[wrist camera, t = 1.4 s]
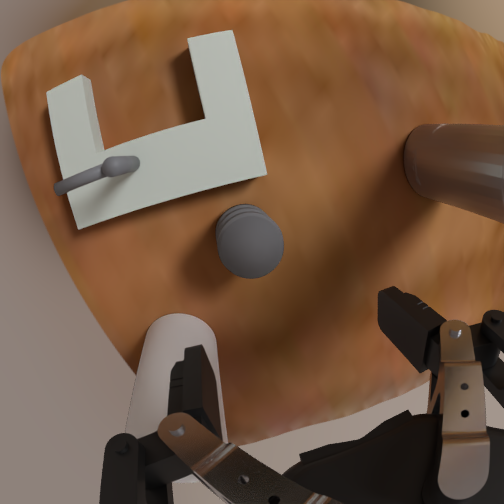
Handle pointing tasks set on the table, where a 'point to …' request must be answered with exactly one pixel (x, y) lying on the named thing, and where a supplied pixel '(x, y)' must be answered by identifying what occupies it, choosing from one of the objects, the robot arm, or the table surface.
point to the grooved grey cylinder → (248, 241)
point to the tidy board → (158, 142)
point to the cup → (168, 372)
